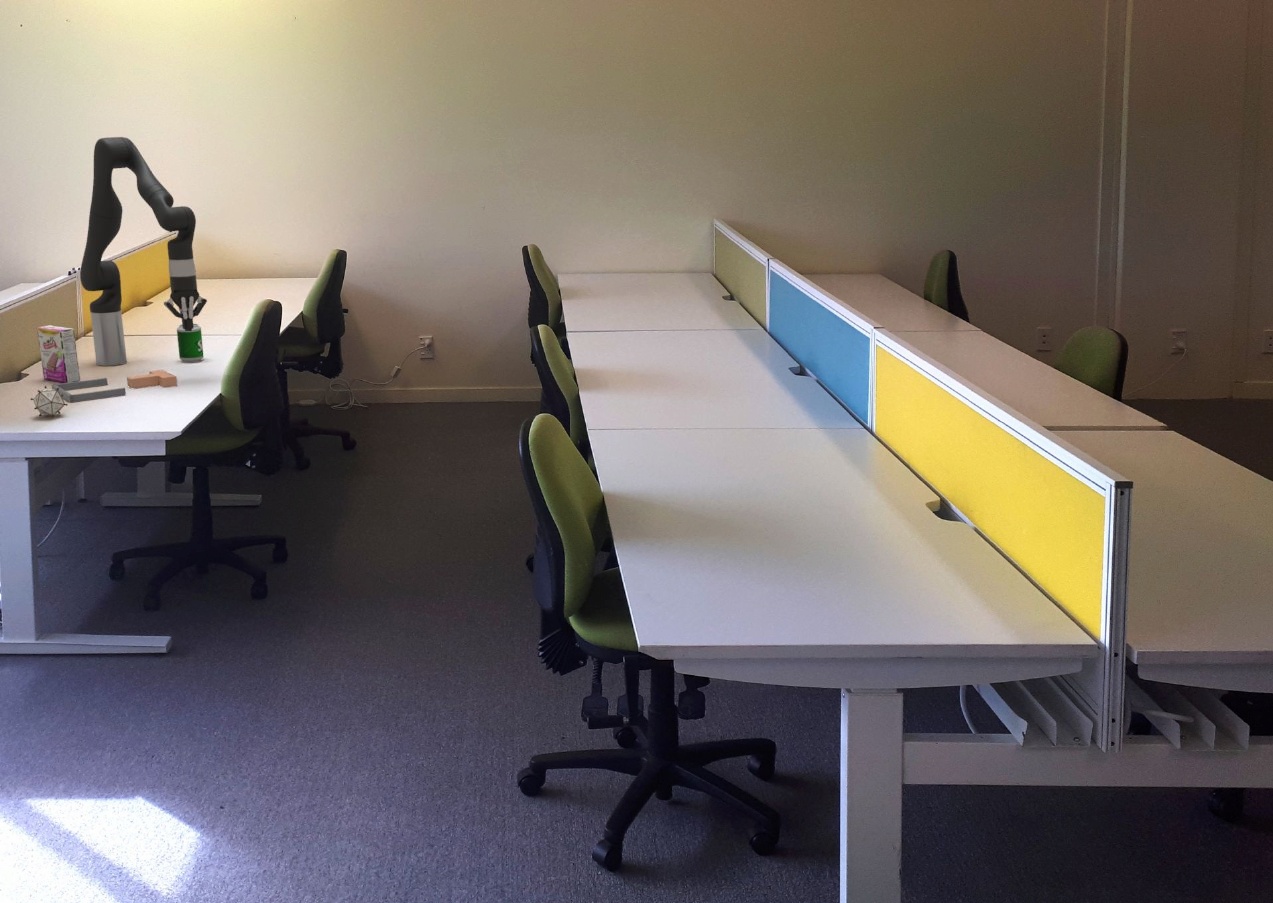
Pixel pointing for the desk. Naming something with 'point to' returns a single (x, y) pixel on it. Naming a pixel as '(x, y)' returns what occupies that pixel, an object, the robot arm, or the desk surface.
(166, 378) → the T block
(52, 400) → the game die
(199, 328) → the soda can
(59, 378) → the candy bar box
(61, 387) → the charcoal bay
